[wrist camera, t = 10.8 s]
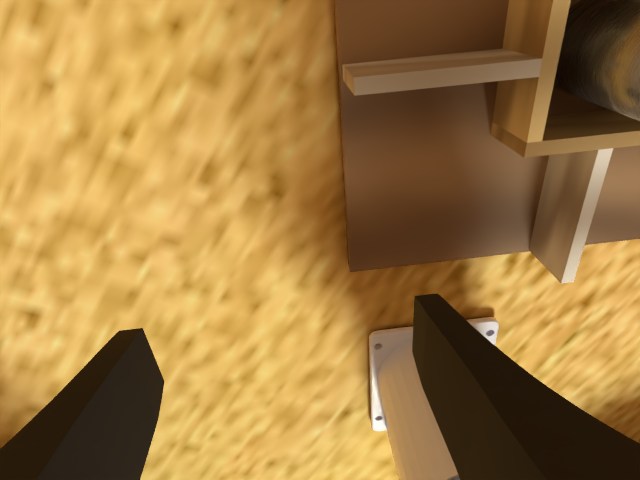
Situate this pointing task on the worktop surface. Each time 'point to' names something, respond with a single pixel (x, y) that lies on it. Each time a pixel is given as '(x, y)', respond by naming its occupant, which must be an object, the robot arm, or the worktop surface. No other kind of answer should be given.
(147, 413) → the robot arm
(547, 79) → the hinge block
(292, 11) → the worktop surface
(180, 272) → the worktop surface
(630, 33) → the hinge pin
